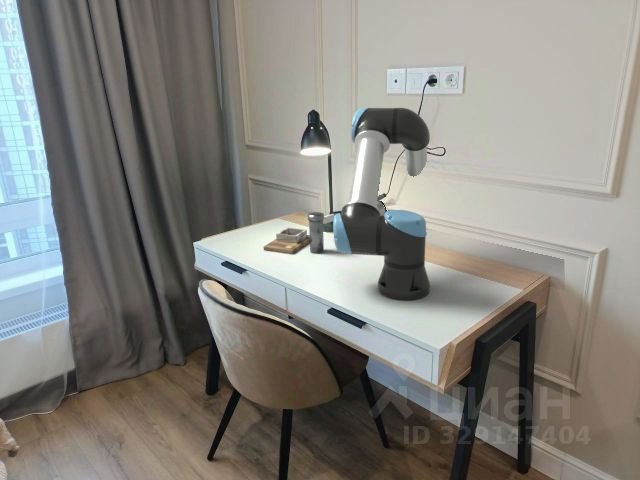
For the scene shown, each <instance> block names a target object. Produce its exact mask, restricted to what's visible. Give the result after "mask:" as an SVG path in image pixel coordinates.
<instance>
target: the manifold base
mask: <svg viewBox="0 0 640 480" xmlns="http://www.w3.org/2000/svg"><path fill="white" fill-rule="evenodd" d="M307 231H308V230H307V229H302V228H293V227H285V228H284V229H283V230H280V231H279V232H277V233H276V234H275V235H276V236H275V238H276V239H275V238H274V240H272V241H270V242H269V243H267V244H266V245H264V246H263V251H265V252H266V251H267V252H274V253H279V254H280V253H281V254H288V255H294V254H295V253H296V252H298V251H300V250H301V249H302V248H303V247H305V246H307V245H308V244H310V234H308V233H307Z"/></svg>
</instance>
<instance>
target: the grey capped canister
mask: <svg viewBox="0 0 640 480" xmlns="http://www.w3.org/2000/svg"><path fill="white" fill-rule="evenodd" d="M324 216H325V214H324V213H323V212H319V211H314V212H309V213H307V221H308V227H309V228H308V231H309V233H308V235H310V242H309V252H310V253H311V254H312V255H313V254H314V255H318V254H319V255H320V254H322V253H324V252H325V247H324V245H325V244H324V239H325V238H324V224H323V220H324Z"/></svg>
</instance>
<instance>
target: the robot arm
mask: <svg viewBox="0 0 640 480" xmlns="http://www.w3.org/2000/svg"><path fill="white" fill-rule="evenodd" d="M350 135H351V142H352V143H353V144H354V145H355V148H356V149H357V151H356V152H357V153H356V158H355V162H354V167H353V168H354V169H353V175H352V179H351V186H350V192H349V197H348V202H347V203H345V204H344V205H343V206H342V208H341V210H337V211H336V210H335V211H329V213H328V215H324V220H323V225H325V224H329V223H332V225H333V229H332V230H333V231H332V232H333V241H334V246H335V248H336V250H337V251H338V253H342V254H349V255H360V256H361V255H364V256H380V257H382V256H383V257H384V258H383V259H384V260H383V267H382V269H381V272H380V275H379V278H378V280H377V290H378V292H379V293H380V295H383V296H385V297H387V298H390V299H393V300H399V301H400V300H401V301H413V300H418V299H422V298H424V297H426V296H427V295H428V294H430V291H431V290H430V288H431V287H430V286H431V283H430V282H431V281H430V279H429V276H428V273H427V270H426V266H425V264H426V263H425V262H426V238H427V235H428V233H427V222H426V219H425V218H424V216H422V215H421V214H419V213H416V212H413V211H411V210H404V209H400V210H388V211H387V210H386V207H385V205H384V203H383V202H382V201H377V198H378V191H379V184H380V177H381V170H382V169H383V163H384V162H383V161H384V157H385V156H384V155H385V153H386V152H388V151H389V148H390V146H391V144H392V145H400V144H401V145H402V147H403V148H404V152H405V164H406V172H407V171H408V174H409V175H410V176H413V177H414V176H417V175H419V174H420V173H421V171H422V170H423V168H424V167H425V165H426V162H427V163H428V148H427V147H428V146H429V144H430V140H431V139H430V138H431V137H430V135H431V133H430V129H429V127H428V125H427V123H426V121H425V120H424V119H423V118H422V117H421V116H420V115H419V114H418V113H416V111H414V110H411V109H409V108H406V107H365V108H360V109H357V110H356V112H355V113H354V115H353V117H352V121H351V129H350ZM383 205H384V206H383ZM384 207H385V208H384Z"/></svg>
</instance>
